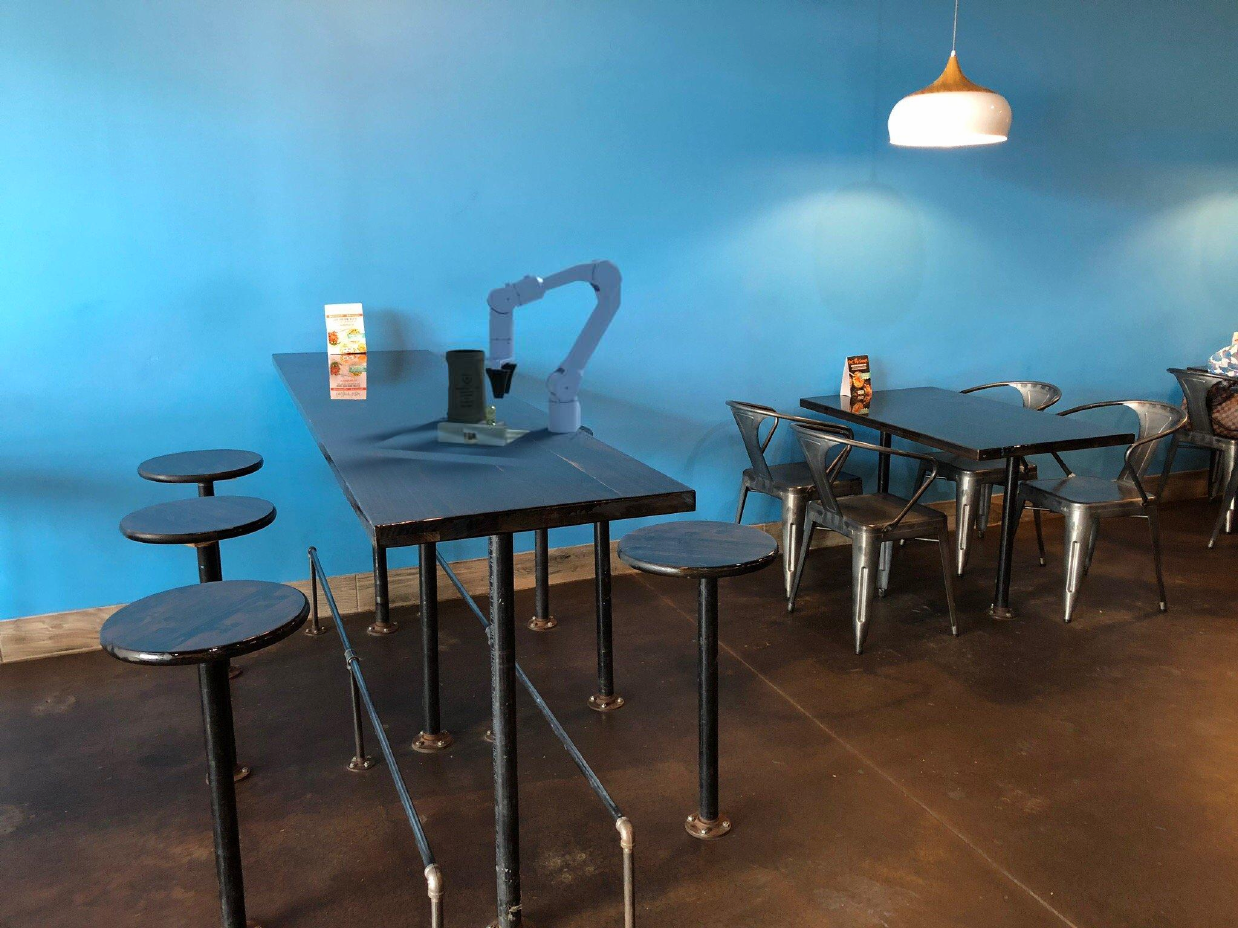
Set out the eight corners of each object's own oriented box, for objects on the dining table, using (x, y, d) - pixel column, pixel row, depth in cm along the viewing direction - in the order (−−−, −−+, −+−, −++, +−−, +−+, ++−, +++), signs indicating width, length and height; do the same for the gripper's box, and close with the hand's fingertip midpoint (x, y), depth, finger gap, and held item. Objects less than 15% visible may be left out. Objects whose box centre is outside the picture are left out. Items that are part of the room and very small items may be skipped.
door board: (469, 433, 235) (468, 411, 234) (530, 437, 231) (530, 414, 230) (438, 447, 218) (437, 424, 217) (503, 452, 214) (502, 428, 213)
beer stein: (493, 430, 239) (491, 350, 236) (451, 432, 235) (448, 351, 232) (479, 423, 253) (477, 348, 250) (439, 425, 249) (436, 349, 246)
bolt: (488, 431, 229) (487, 404, 228) (497, 431, 228) (497, 405, 227) (474, 437, 221) (474, 410, 220) (484, 438, 221) (483, 410, 219)
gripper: (490, 335, 231) (491, 390, 234) (478, 341, 217) (478, 400, 220) (519, 336, 231) (519, 391, 234) (508, 342, 217) (509, 401, 220)
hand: (501, 395), depth 227 cm, fingers open, 7 cm apart
